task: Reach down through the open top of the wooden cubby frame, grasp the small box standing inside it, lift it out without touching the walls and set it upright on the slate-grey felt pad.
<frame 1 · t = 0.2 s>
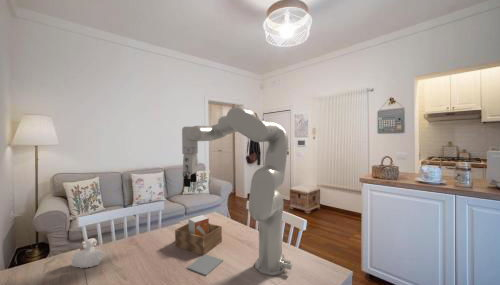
hand: (190, 184, 109), 30 cm above the table, fingers open, 9 cm apart
wooden cubby frame: (199, 243, 107), on the table
small box: (199, 244, 107), resting in wooden cubby frame
pad: (205, 264, 90), on the table
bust: (89, 264, 91), on the table
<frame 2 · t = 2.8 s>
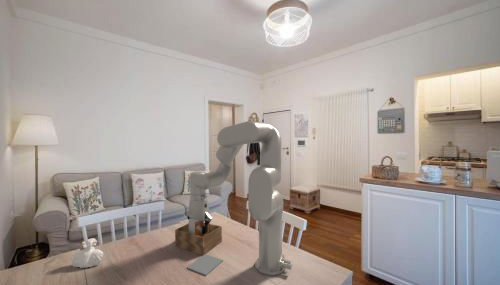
hand: (198, 231, 107), 6 cm above the table, fingers closed on small box, 7 cm apart
small box: (199, 244, 107), resting in wooden cubby frame, touching gripper
everything else where it was.
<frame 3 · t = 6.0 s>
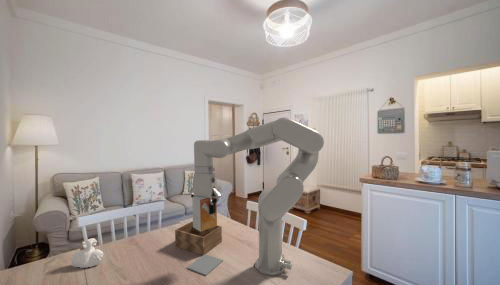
hand: (204, 211, 89), 23 cm above the table, fingers closed on small box, 7 cm apart
small box: (205, 227, 89), point 16 cm above the table, touching gripper
everything else where it was.
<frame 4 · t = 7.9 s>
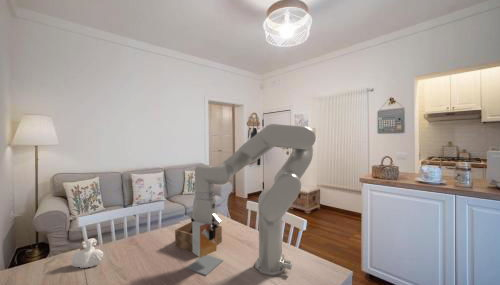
hand: (204, 236, 90), 12 cm above the table, fingers closed on small box, 7 cm apart
small box: (204, 252, 90), point 5 cm above the table, touching gripper
everything else where it was.
when the fingers open (8 cm above the table, at t = 9.4 s): small box moves 1 cm, resting on pad.
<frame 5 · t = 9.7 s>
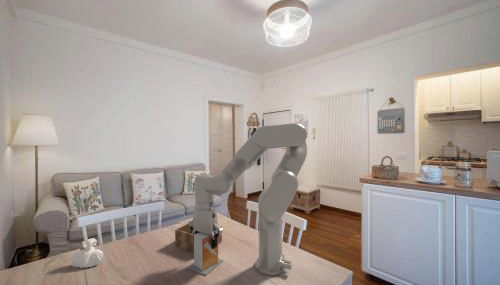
hand: (205, 244, 90), 9 cm above the table, fingers open, 9 cm apart
small box: (206, 264, 90), resting on pad
everything else where it was.
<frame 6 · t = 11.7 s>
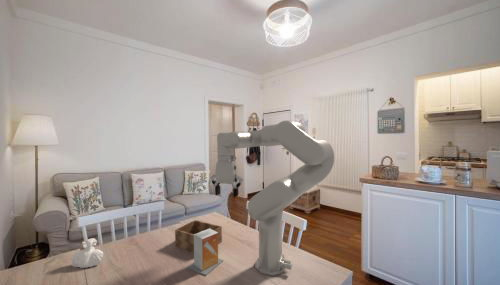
hand: (226, 195, 100), 26 cm above the table, fingers open, 9 cm apart
nothing on the table moved.
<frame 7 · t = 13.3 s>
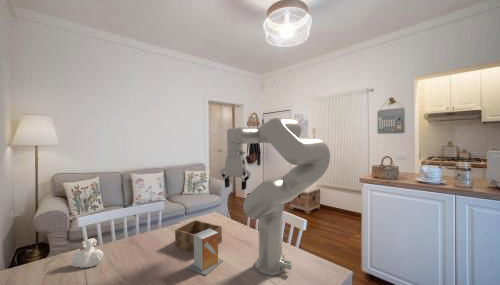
hand: (235, 188, 105), 28 cm above the table, fingers open, 9 cm apart
nothing on the table moved.
at the end: small box inside the target area on the pad (0.5 cm from its centre), point 0.3 cm above the pad's base; small box tilted 0°; small box touching pad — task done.
